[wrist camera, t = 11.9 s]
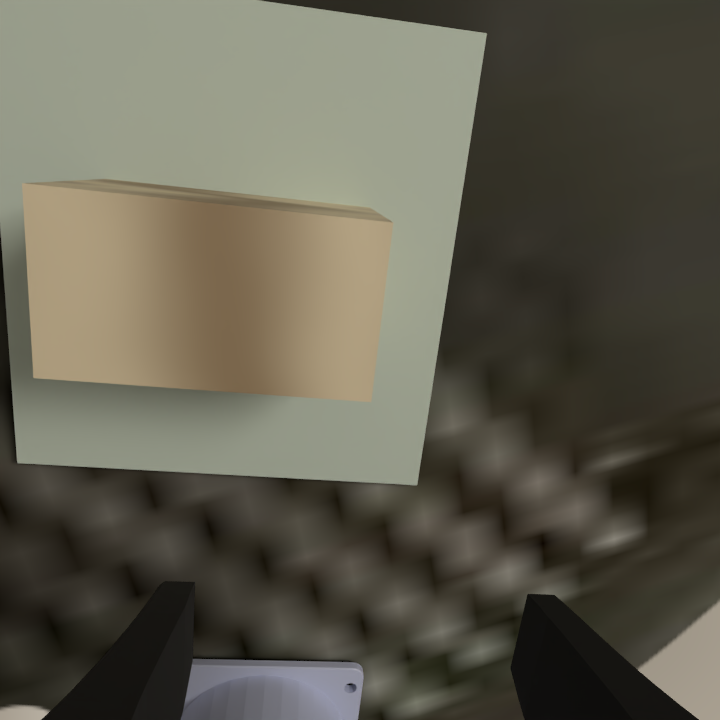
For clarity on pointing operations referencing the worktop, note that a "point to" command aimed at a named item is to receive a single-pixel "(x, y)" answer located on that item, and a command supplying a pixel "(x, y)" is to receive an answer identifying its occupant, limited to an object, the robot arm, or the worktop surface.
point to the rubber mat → (246, 176)
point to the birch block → (204, 289)
